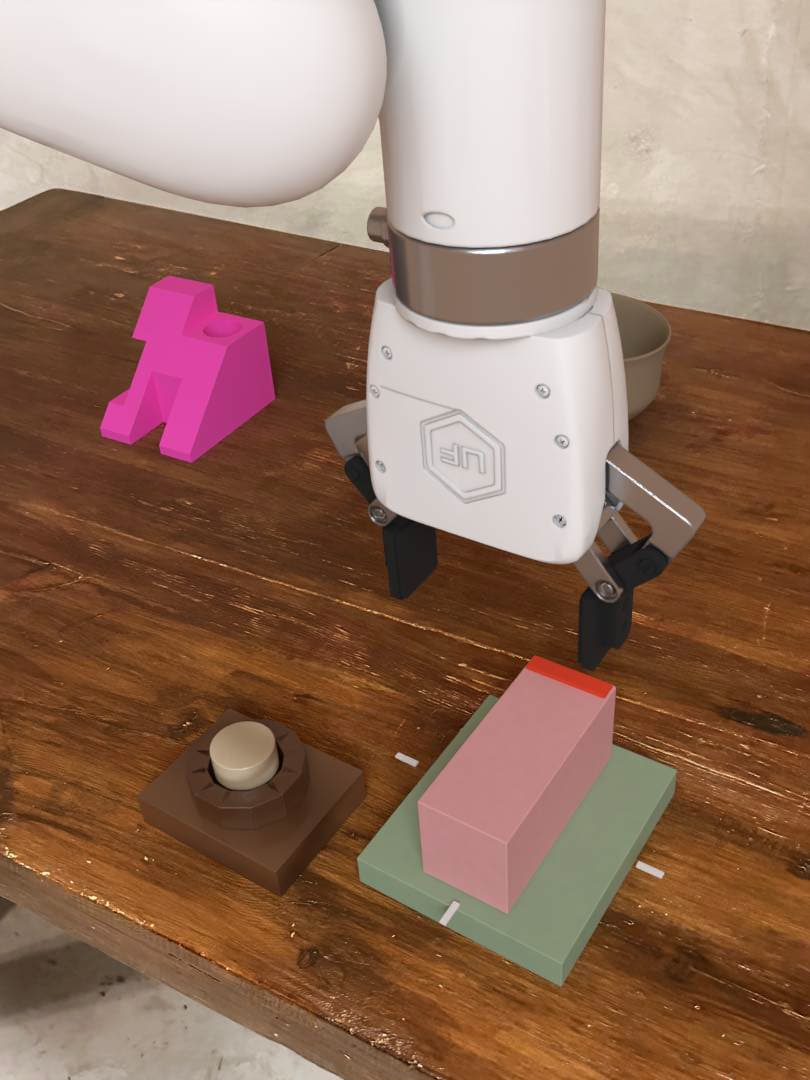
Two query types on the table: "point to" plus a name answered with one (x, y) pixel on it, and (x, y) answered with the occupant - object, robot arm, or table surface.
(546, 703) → the pink bar
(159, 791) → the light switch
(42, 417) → the table surface
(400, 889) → the green mat
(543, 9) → the robot arm
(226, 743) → the button
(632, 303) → the bowl
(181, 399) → the bracket
